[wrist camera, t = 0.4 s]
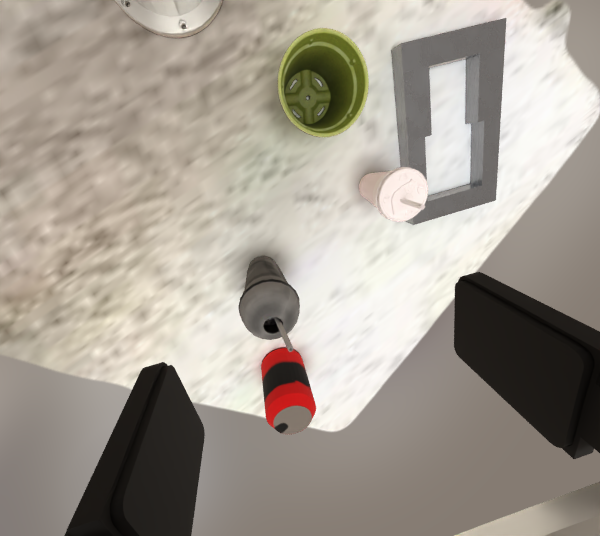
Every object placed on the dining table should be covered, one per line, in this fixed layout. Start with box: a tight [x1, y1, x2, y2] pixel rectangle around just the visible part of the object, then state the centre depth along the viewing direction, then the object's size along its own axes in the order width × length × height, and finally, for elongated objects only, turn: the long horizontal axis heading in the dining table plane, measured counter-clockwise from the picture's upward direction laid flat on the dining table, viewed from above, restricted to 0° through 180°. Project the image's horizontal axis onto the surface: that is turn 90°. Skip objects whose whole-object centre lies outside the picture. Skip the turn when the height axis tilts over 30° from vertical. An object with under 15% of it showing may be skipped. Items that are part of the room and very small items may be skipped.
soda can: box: [261, 348, 316, 434], centre depth 47 cm, size 8×8×12 cm
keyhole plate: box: [392, 18, 506, 225], centre depth 41 cm, size 23×14×2 cm, turn 14°
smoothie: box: [359, 167, 428, 222], centre depth 36 cm, size 6×6×14 cm
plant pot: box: [278, 28, 368, 137], centre depth 33 cm, size 9×9×9 cm
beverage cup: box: [239, 256, 300, 352], centre depth 35 cm, size 7×7×20 cm
